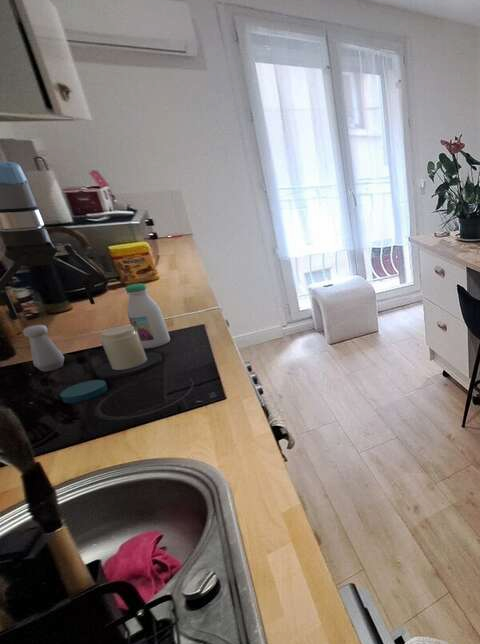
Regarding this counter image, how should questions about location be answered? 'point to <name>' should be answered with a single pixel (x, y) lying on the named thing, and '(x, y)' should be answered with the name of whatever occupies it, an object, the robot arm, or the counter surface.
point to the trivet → (109, 373)
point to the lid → (83, 391)
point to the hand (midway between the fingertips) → (55, 309)
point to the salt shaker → (43, 349)
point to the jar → (123, 347)
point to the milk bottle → (146, 317)
